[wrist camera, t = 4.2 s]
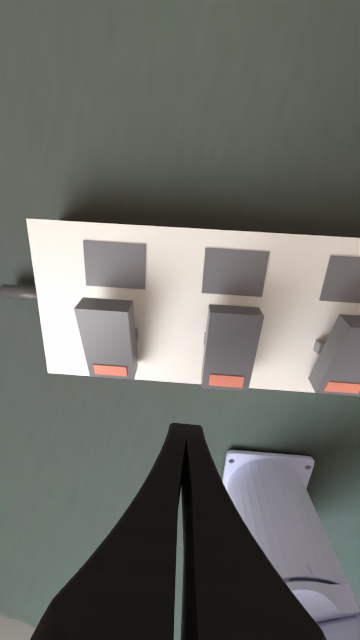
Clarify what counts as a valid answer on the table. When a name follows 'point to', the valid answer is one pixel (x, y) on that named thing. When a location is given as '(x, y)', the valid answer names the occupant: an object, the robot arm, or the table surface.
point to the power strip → (192, 293)
